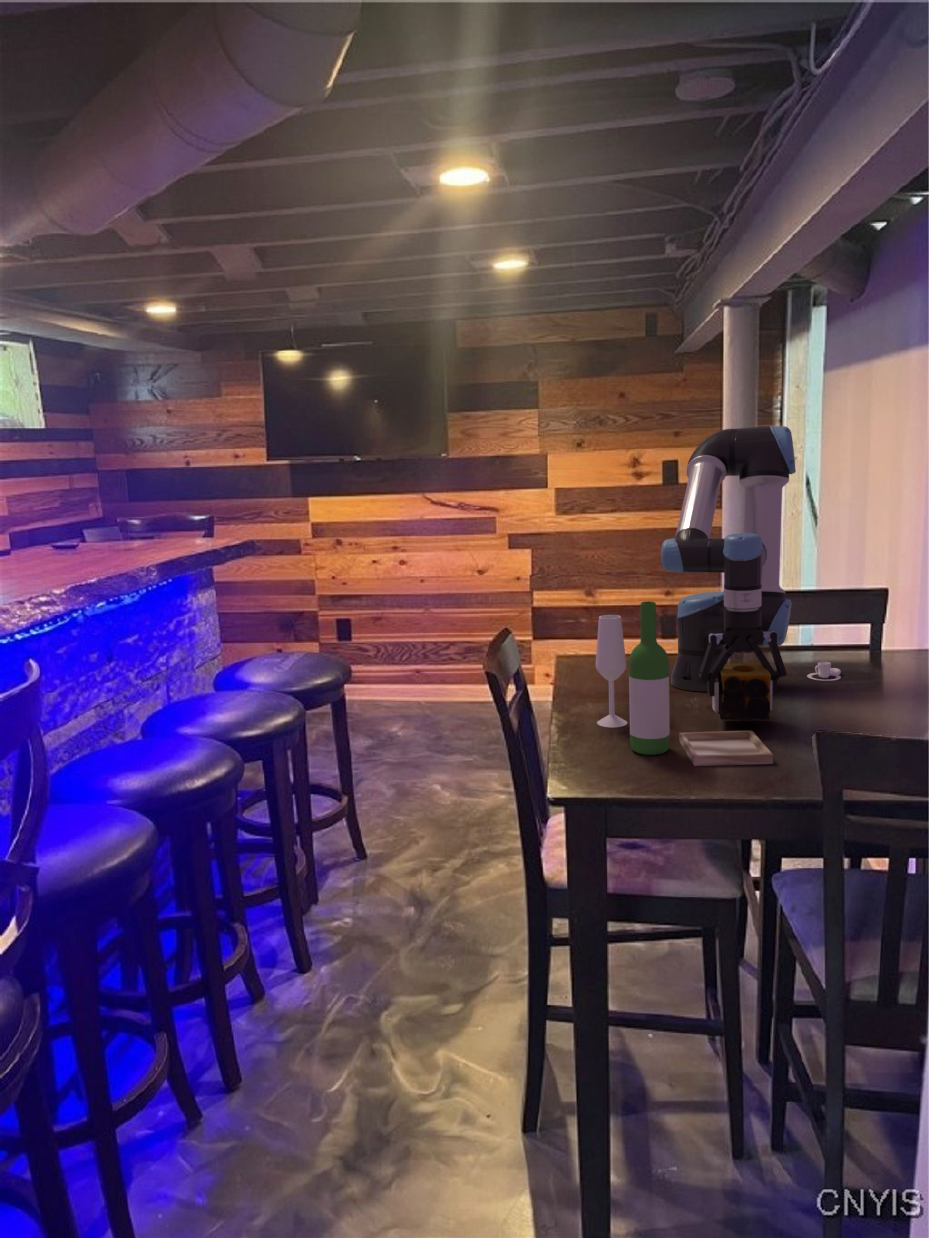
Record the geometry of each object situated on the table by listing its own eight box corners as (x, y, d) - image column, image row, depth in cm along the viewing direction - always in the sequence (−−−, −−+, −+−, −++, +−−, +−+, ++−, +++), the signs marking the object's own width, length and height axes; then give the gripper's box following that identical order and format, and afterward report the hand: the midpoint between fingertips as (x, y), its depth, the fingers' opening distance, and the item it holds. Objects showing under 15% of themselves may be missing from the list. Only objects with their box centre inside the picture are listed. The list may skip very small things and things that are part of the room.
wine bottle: (645, 759, 165) (643, 607, 159) (622, 747, 172) (619, 602, 167) (677, 752, 168) (677, 602, 162) (654, 741, 175) (652, 598, 170)
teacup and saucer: (836, 673, 221) (836, 658, 221) (849, 681, 213) (849, 665, 213) (802, 675, 222) (802, 660, 221) (814, 683, 214) (814, 667, 213)
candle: (720, 721, 178) (720, 675, 176) (714, 706, 188) (714, 662, 186) (771, 720, 176) (771, 674, 174) (762, 706, 186) (762, 661, 184)
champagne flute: (591, 721, 190) (588, 616, 186) (616, 716, 193) (614, 612, 189) (607, 729, 184) (605, 620, 180) (633, 724, 187) (631, 617, 182)
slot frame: (679, 741, 174) (679, 732, 174) (751, 738, 173) (751, 730, 173) (694, 765, 160) (694, 756, 160) (773, 763, 159) (773, 754, 159)
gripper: (690, 614, 174) (691, 716, 179) (804, 608, 173) (802, 712, 177) (683, 607, 182) (684, 706, 186) (792, 602, 180) (791, 701, 185)
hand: (741, 709), depth 182 cm, fingers closed on candle, 10 cm apart
